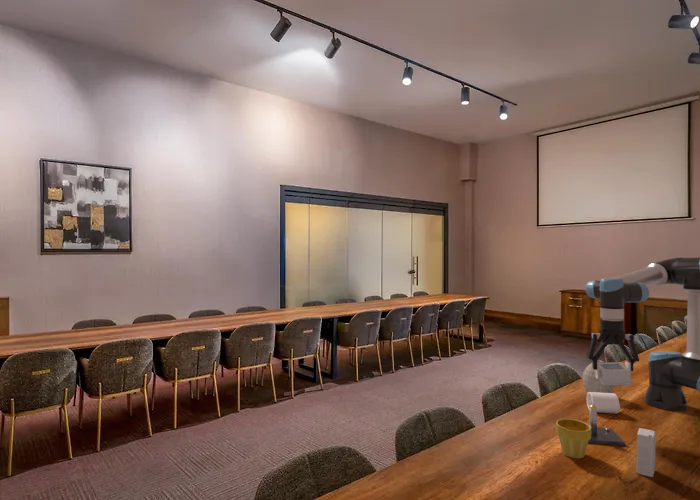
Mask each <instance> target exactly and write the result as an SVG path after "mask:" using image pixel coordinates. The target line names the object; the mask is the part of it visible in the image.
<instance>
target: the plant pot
mask: <svg viewBox="0 0 700 500" xmlns="http://www.w3.org/2000/svg"><path fill="white" fill-rule="evenodd" d="M555 432H556V433H557V435H558V437H559V443H560V447H561V451H562V454H563V455H565V456H566V457H569V458H572V459H583V458H585V456H586V451H587V447H588V444H589V443H588V441H589V440H590V439H591V427H590V425H589V423H586V422H584V421H582V420H579V419H575V418H574V419H573V418H559V419H557V420H556V421H555Z"/></svg>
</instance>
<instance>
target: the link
mask: <svg viewBox="0 0 700 500" xmlns="http://www.w3.org/2000/svg"><path fill="white" fill-rule="evenodd" d="M631 377H632V376H631ZM631 377H630V370H629V369H628V368H627V367H626V366H625V363H623V362H621V361H618V362H603V363H600V379H599V381H600V382H601V383H602V384H603V386H607V385H615V386H632V378H631Z"/></svg>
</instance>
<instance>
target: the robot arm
mask: <svg viewBox="0 0 700 500" xmlns="http://www.w3.org/2000/svg"><path fill="white" fill-rule="evenodd" d="M666 284H667V285H682V286H683V287H682V289H683V291H684V292H685V293H687V308H686V309H687V312H686V313H687V318H686V321H687V323H686V351H685V352H683V353H681V352H678V351H668V350H667V351H666V350H665V351H663V350H662V351H659V350H658V351H651V352H650V353H649V355H648V361H647V363H648V387H647V389H646V391H645V394H644V399H643V401H644V402H645V404H647V405H648V406H652V407H654V408H658V409H661V410H668V411H678V412H679V411H680V412H681V411H686V410H688V405H689V404H688V402H687V398H686V396H685V393H684V390H683V387H685V388H688V389H689V388H690V389H693V390H696V391H698V392H700V257H673V258H668V259H665V260H660V261H657V262H654V263H650V264H649V265H647V266H646V267H644V268H642V269H638V270H634V271H631V272H628V273H624V274H620V275H616V276H613V277H610V278H609V277H605V278H603V277H602V279H600V280H598V279H596V280H590V281H588V282H587V283H586V285H585V294H586V295H587V296H588V297H589V298H592V299H595V300H599V301H600V302H599V306H600V307H599V309H600V310H599V313H600V314H599V317H600V323H599V325H600V327H599V329H600V331H599V333H598V332H597V333H594V332H591V333H590V335H591V336H590V337H591V340H590V344H589V347H588V349H587V354H586V358H587V359H589V360H591V363H592V367H593V369H594V370H595V377H596V378H597V379H600V362H599V361H598V360H600V357H601V356H602V354H603V352H604V351H605V349H606V348H607V347H608V345H616V346H617V345H618V347H619V349H620V350H621V353H623V355H624V357H625V359H626V360H627V361H625V362H624V365H625V366H626V367H627V368H628V369H629V370H630V377H632V372H634V364H635V363H636V362H639V361H640V357H639V355H638V352H637V347H636V345H635V344H636V343H635V342H634V339H635V336H634V335H633V334H631V333H627V334H626V333H625V332H624V331H625V321H624V319H625V314H624V313H625V311H624V306H625V305H624V304H625V303H627V304H628V303H629V304H630V303H631V304H633V303H641V302H645V301H646V300H647V299H648V298H649V296H650V289H649V288H648V287H650V286H653V285H655V286H662V285H666ZM599 338H601V341H600V343H599V345H598V347H597V349H596V346H597V343H598V339H599ZM624 339H625V340H626V341H627V344H628V347H629V350H630V352H629V351H628V349H627V347H626V346H625V344H624V342H623V340H624Z"/></svg>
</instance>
